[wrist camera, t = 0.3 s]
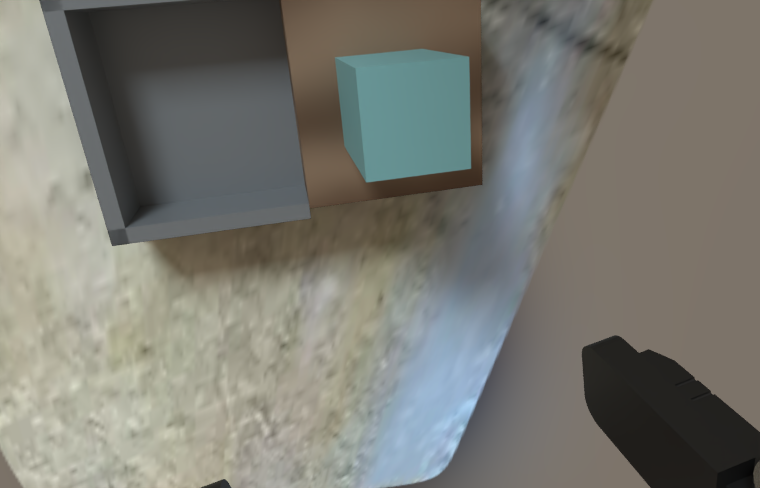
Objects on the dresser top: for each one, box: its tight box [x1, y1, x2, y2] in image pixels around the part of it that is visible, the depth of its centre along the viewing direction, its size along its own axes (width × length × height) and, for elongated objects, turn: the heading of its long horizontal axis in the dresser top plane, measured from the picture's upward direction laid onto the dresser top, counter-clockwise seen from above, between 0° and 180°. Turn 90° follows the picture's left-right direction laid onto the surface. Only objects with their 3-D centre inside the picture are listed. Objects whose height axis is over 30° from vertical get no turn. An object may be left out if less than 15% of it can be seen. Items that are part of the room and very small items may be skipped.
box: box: [39, 0, 311, 246], centre depth 33 cm, size 14×12×5 cm
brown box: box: [279, 0, 482, 208], centre depth 34 cm, size 12×11×6 cm
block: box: [335, 49, 471, 183], centre depth 28 cm, size 5×5×8 cm
